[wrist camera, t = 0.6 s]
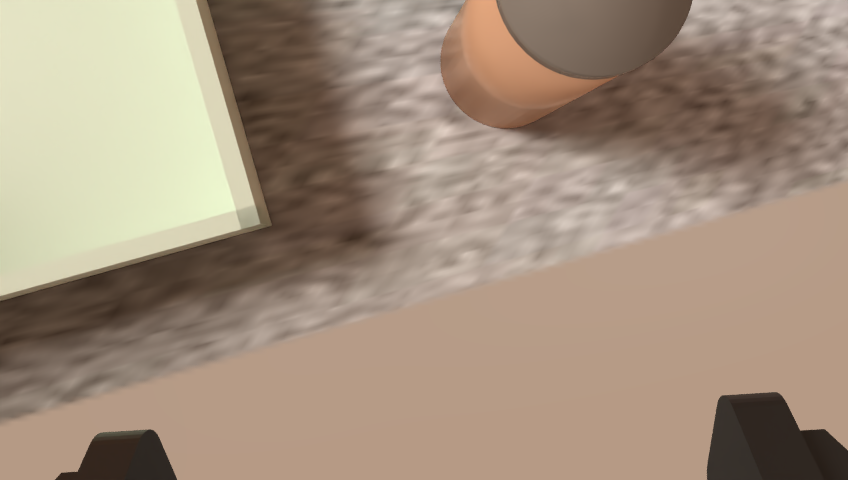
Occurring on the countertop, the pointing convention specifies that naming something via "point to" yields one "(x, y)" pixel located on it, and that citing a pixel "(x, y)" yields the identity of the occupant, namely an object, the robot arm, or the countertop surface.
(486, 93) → the spice jar
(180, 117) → the tote
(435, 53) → the countertop surface
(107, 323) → the countertop surface
